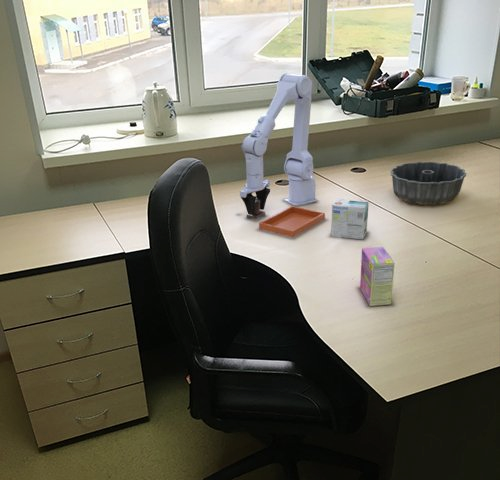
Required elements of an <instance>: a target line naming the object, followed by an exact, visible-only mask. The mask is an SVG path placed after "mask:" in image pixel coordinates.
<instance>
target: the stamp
mask: <svg viewBox="0 0 500 480" xmlns="http://www.w3.org/2000/svg"><path fill="white" fill-rule="evenodd" d="M265 216H266V211H264V210H260V199H257V198H256V201H255V206H254V215H249V214H248V213H246V219H251V220H258V219H261V218H263V217H265Z"/></svg>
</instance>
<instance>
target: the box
mask: <svg viewBox="0 0 500 480" xmlns="http://www.w3.org/2000/svg"><path fill="white" fill-rule="evenodd" d="M360 259H361V260H360V261H361V262H360V279H359V280H360V281H359V289H360V291H361V292H362V294H363V296H364V299H365V300H366V302H367V304H368V305H369V307H377V306H389V305H392V298H393V297H392V296H393V286H394V276H395V267H396V266H395V265H396V263H395V261H394V260H393V258H392V257H391V256H390V254H389V253H388V252H387V250H386V249H385V248H384V246H372V247H371V246H370V247H362V248H361V258H360Z"/></svg>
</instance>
